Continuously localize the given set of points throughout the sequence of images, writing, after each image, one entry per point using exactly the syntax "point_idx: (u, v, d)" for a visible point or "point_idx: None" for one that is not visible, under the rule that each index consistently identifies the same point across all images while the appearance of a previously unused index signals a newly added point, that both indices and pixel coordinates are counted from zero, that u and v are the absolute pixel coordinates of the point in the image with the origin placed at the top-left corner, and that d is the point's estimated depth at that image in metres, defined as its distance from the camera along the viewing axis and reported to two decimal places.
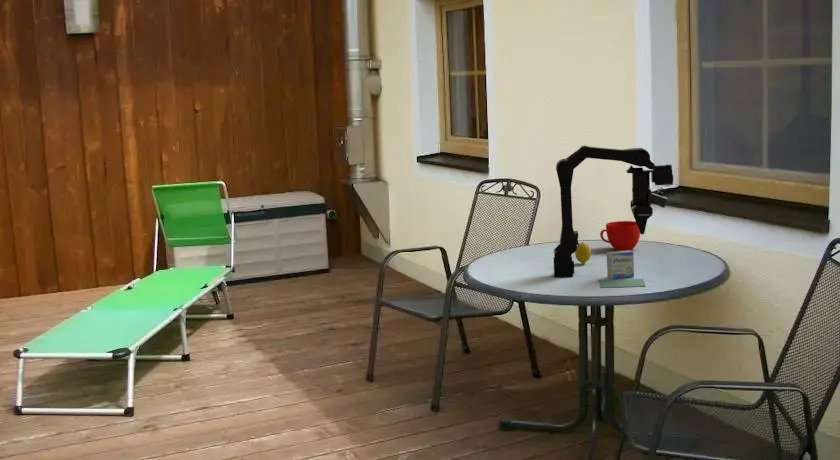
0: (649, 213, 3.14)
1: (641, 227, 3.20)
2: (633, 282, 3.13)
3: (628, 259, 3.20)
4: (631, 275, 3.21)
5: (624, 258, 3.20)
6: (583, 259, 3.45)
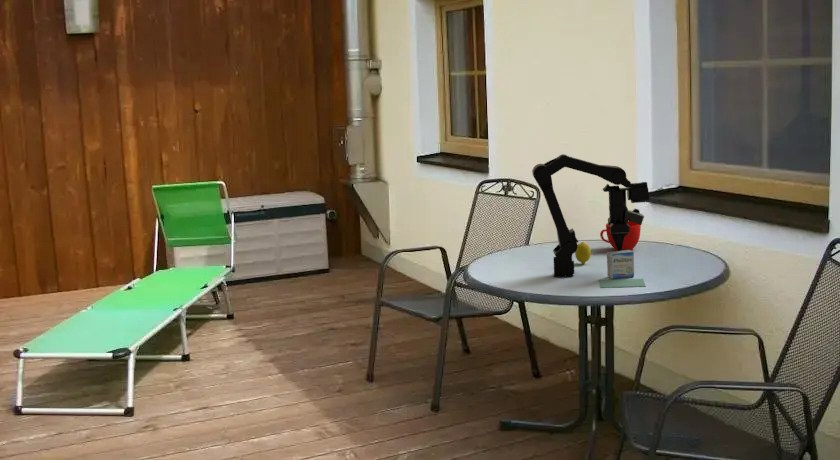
0: (626, 231, 3.18)
1: (618, 244, 3.23)
2: (633, 282, 3.13)
3: (628, 259, 3.20)
4: (631, 275, 3.21)
5: (624, 258, 3.20)
6: (583, 259, 3.45)
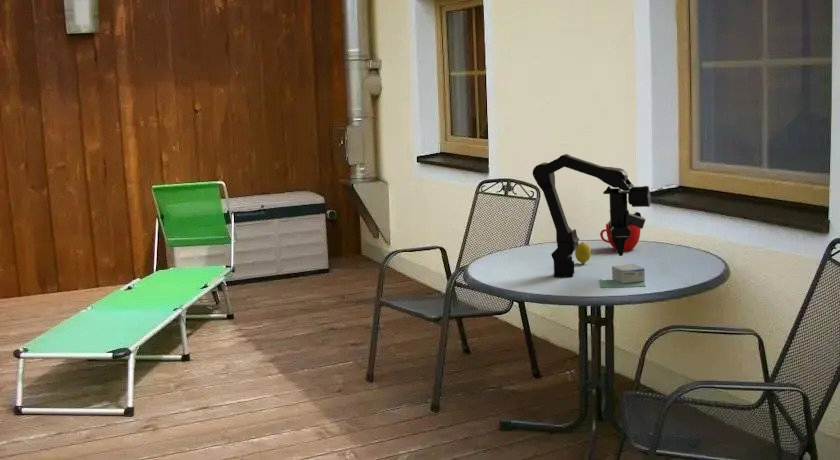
0: (627, 235, 3.12)
1: (619, 248, 3.17)
2: (633, 282, 3.13)
3: None
4: None
5: None
6: (583, 259, 3.45)
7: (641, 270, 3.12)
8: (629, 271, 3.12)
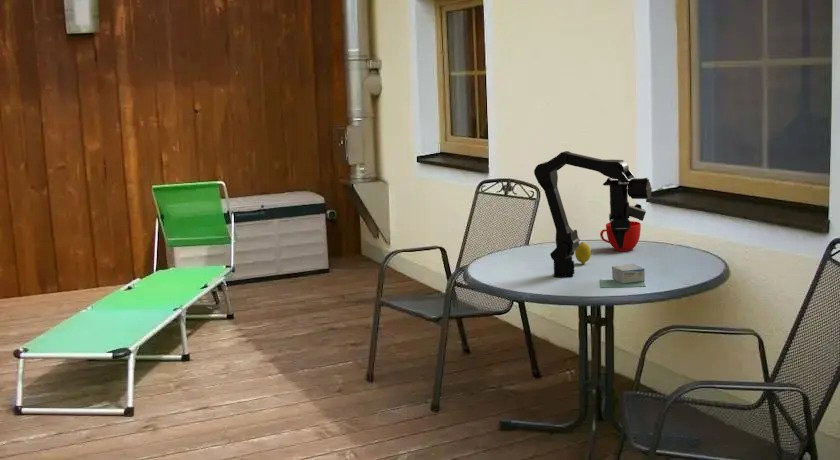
0: (626, 227, 3.09)
1: (619, 240, 3.14)
2: (633, 282, 3.13)
3: None
4: None
5: None
6: (583, 259, 3.45)
7: (641, 270, 3.12)
8: (629, 271, 3.12)
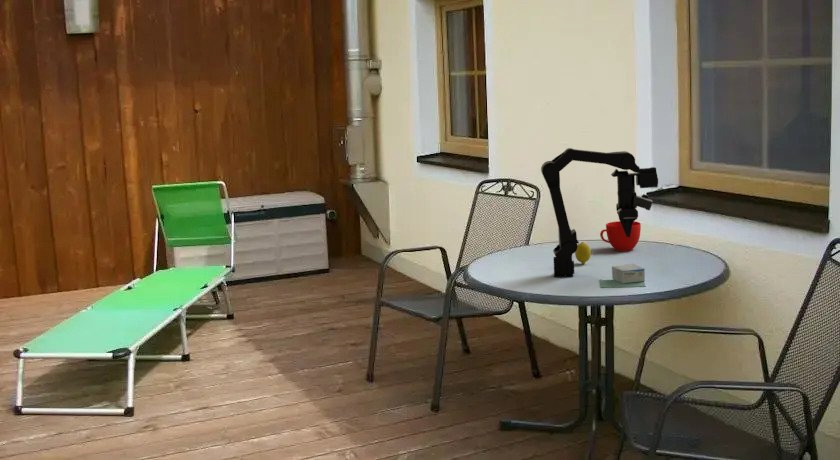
0: (634, 216, 3.17)
1: (626, 230, 3.22)
2: (633, 282, 3.13)
3: None
4: None
5: None
6: (583, 259, 3.45)
7: (641, 270, 3.12)
8: (629, 271, 3.12)
